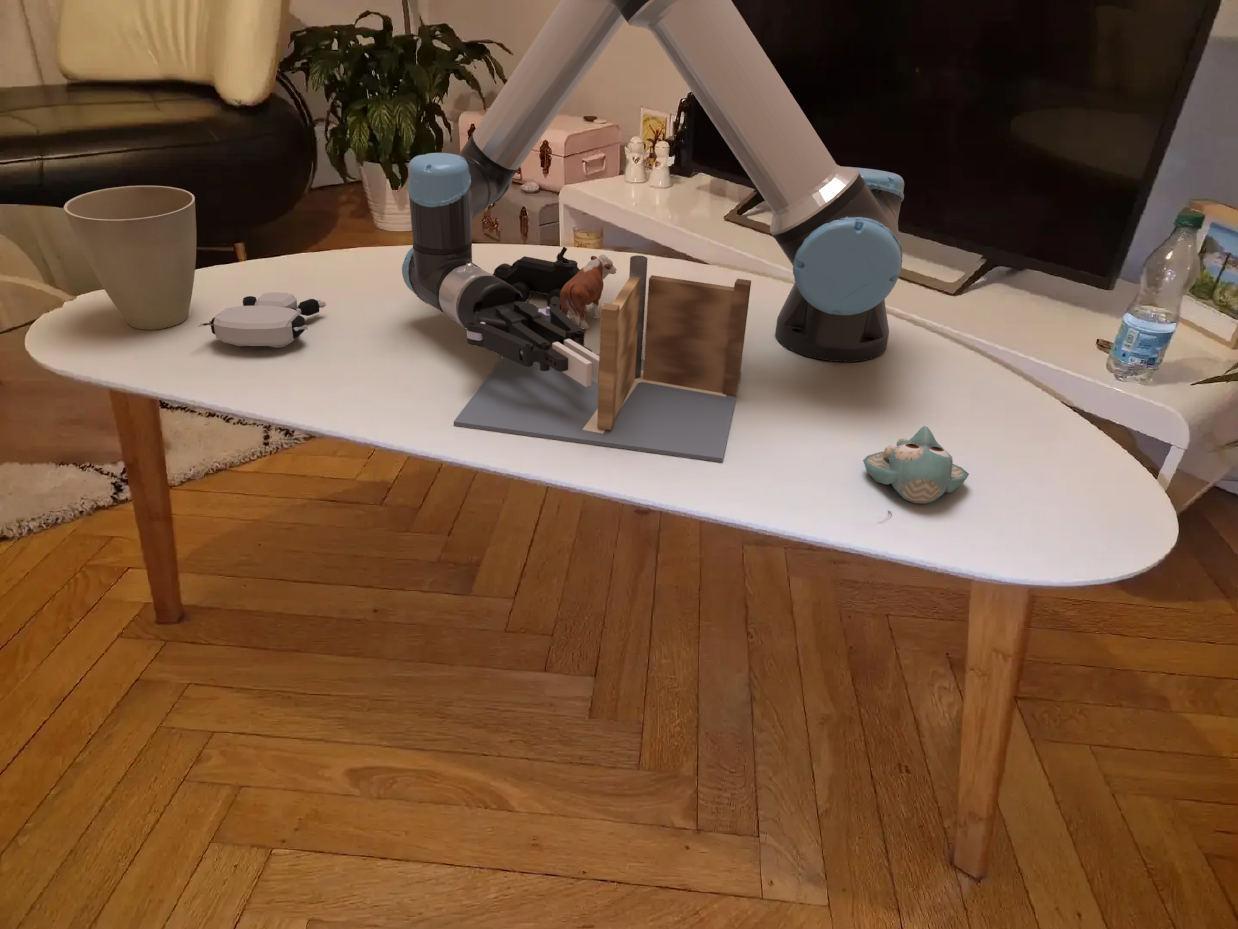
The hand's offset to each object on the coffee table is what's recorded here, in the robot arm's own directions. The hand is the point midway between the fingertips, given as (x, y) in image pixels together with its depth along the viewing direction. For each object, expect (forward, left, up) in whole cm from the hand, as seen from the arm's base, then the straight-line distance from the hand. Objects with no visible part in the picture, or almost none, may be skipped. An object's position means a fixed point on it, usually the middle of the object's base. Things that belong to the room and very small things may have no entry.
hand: (594, 373), depth 101 cm
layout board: (0, -8, -7) cm, 10 cm away
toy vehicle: (+18, -38, -7) cm, 43 cm away
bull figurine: (+8, -31, -7) cm, 32 cm away
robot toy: (+47, -14, -7) cm, 49 cm away
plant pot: (+63, -14, -7) cm, 65 cm away
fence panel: (-2, -5, -6) cm, 8 cm away
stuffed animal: (-35, +2, -7) cm, 36 cm away
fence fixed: (-8, -13, -7) cm, 17 cm away
